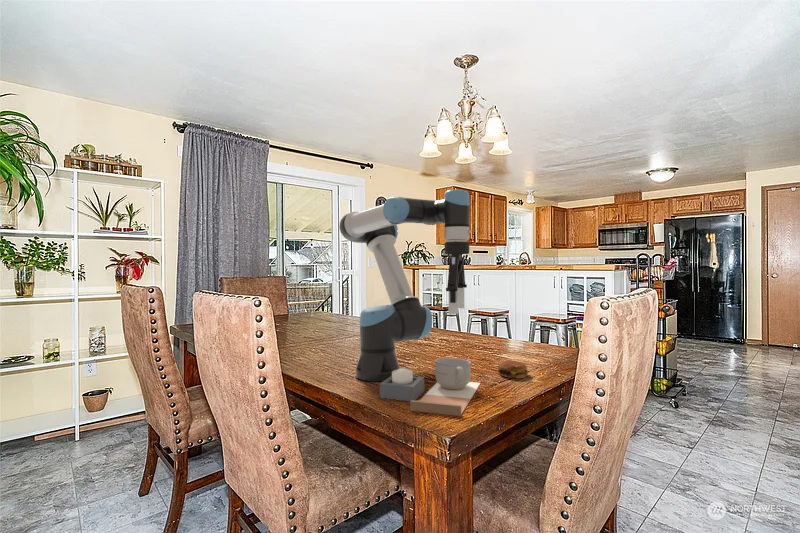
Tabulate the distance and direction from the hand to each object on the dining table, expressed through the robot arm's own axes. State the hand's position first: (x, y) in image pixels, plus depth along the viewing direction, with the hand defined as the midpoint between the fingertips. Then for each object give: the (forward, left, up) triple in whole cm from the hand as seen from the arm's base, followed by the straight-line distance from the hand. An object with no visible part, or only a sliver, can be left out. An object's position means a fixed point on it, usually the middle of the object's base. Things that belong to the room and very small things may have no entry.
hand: (456, 310), depth 127 cm
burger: (+15, +17, -23) cm, 32 cm away
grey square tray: (-13, -13, -23) cm, 30 cm away
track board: (0, -10, -23) cm, 25 cm away
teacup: (0, -4, -23) cm, 23 cm away
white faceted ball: (-13, -13, -21) cm, 28 cm away
